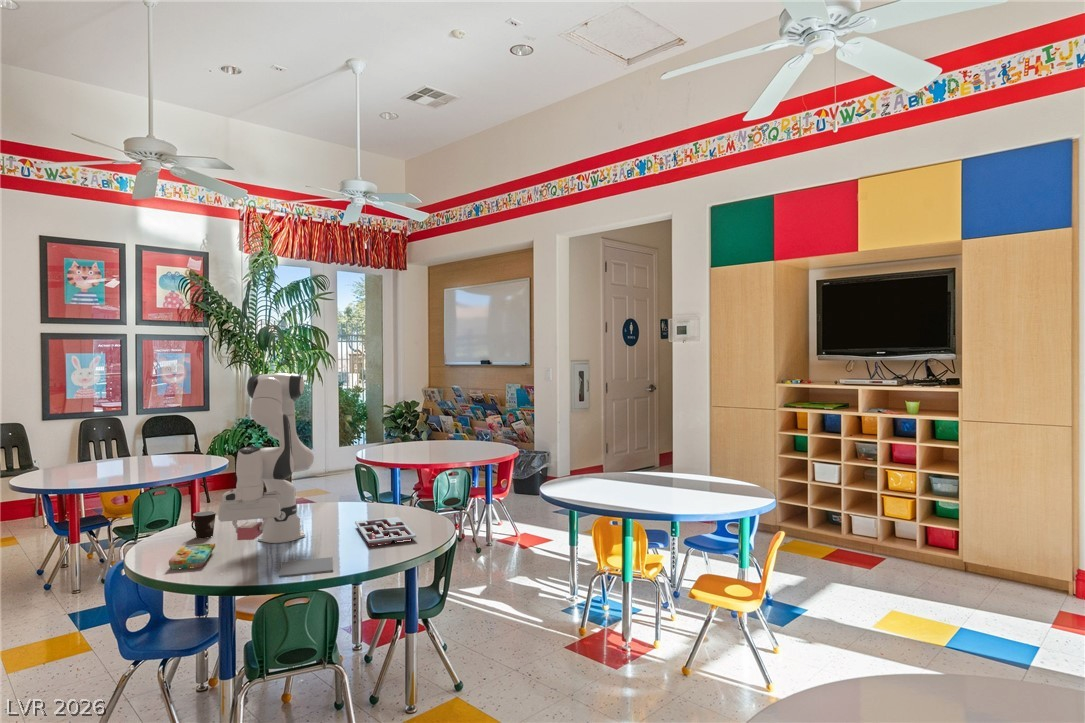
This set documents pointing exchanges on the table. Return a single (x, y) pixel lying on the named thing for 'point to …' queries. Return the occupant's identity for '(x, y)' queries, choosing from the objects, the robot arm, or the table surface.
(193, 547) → the puzzle game
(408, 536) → the maze game
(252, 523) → the card deck
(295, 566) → the mat
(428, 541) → the table surface
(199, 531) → the coffee mug
